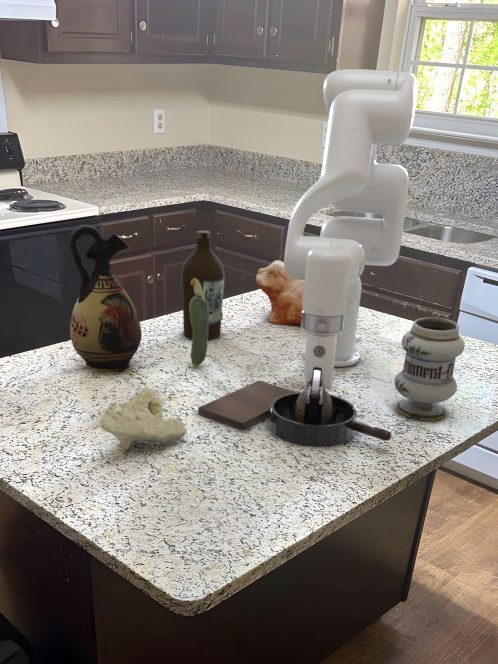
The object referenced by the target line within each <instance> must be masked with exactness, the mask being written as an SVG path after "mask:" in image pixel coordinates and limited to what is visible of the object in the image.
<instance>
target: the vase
mask: <svg viewBox="0 0 498 664" xmlns="http://www.w3.org/2000/svg"><path fill="white" fill-rule="evenodd" d="M312 385H313V383H311V385H310V386H312ZM321 386H322V384H319V387H321ZM323 388H324V386H323ZM301 392H302V393H301V394H300V395H299V397H298V399H297V402H296V406H295V414H296V419H297V421H298V423H303V424H308V423H304V411H305V402H307V394H308V388H306V387H305V388H304V389H303V390H302V391H301ZM311 393H312V390H311ZM319 394H320V391H319ZM329 395H330V394H329V392H328V390H327V389H323V396H322V403H323V408H322V418H321V424H310V425H326V424H327V423H328V422H329V420H330V418H331V414H332V401H331V398H330V396H329Z"/></svg>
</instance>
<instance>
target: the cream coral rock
mask: <svg viewBox="0 0 498 664" xmlns="http://www.w3.org/2000/svg"><path fill="white" fill-rule="evenodd" d="M116 401H117V398H115V399H114V401H113V402H111V403H109V406H107V408H106V409H105V410H104V412H103V414H102V417H101V418H100V420H99V423H100V425H99V427H100V428H101V429H102V430H103V431H105V432H106V433H110V434H112V435H113V436H114V437H115V438H116V439H117V440H118V441H119V443H120V446H121V447H122V448H123V450H124V451H127V450H128V449H129V448H130V446H131V445H133V444H134V443H137V444H138V443H139V442H142V441H149V442H153V443H155V444H160V445H163V444H166V443H169V442H174V441H180V440H181V439H183V438H184V437H185V435H186V432H187V428H186V427H185V425H184V423H182V422H181V421H179V419H177V417H172V416H170V417H167V418H164V414H163V413H164V403H163V400H162V399H161V397H159V395H158V394H157V392H156V391H155V390H154V389H153V388H150V387H147V386H145V387H142V389H140V390H139V391H138V393H137V394H136V395H135V396H134V397H132V398H130V400H129V402H127V403H124V404H123V405H121V406H119V404H117V402H116Z"/></svg>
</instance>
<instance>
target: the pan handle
mask: <svg viewBox="0 0 498 664" xmlns="http://www.w3.org/2000/svg"><path fill="white" fill-rule="evenodd" d="M349 428H350V429H351V430H354V431H355V432H357V433H360V434H363V435H367V436H369V437H371V438H375V439H378V440H381V441H383V442H386V441H387V442H388V441H389V440H391V439H392V433H391V431H390V430H387V429H384V428H380V427H378V426H374V425H371V424H368V423H365V422H361V421H358V420H356V421H355V420H352V421H351V422H350V423H349Z"/></svg>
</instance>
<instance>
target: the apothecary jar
mask: <svg viewBox="0 0 498 664" xmlns="http://www.w3.org/2000/svg"><path fill="white" fill-rule="evenodd" d="M459 330H460V326H459V323H457V322H456V321H454V320H450V319H447V318H441V317H434V316H433V317H429V316H428V317H421V318H417V319H415V320H414V321H413V323H412V327H411V329H409V330H408V331H407V332H405V333H404V335H403V336H402V338H401V347H402V349H403V350H404V351H405V355H404V363H403V367H402V370H401V371H399V372H398V373H397V374H396V376H395V378H394V388H395V389H396V391H397V393H399V394H400V395H401V396H402V397H404V398H405V399H403V400H400V401H398V402H397V403H396V405H395V410H396V412H398V413H399V414H400V415H402V416H404V417H406V418H410V419H418V420H419V421H436V420H437V421H438V420H441V419H443V418H444V417H445V416H446V410H445V408H444V407H443V406H442V405H440V404H438V403H442V402H445V401H448V400H449V399H451V398H452V397H453V396H454V395H455V394H456V392H457V390H458V385H457V384H458V383H457V381H456V379H455V377H454V369H455V364H456V359H457V357H459V356H460V355H462V354H463V352H464V350H465V344H466V343H465V341H464V339H463V338H462V337H461V335H460V332H459Z"/></svg>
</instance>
